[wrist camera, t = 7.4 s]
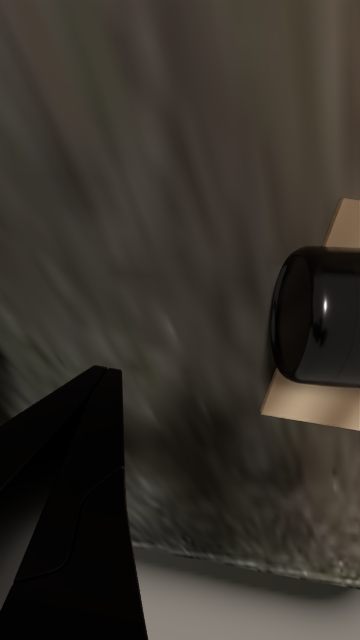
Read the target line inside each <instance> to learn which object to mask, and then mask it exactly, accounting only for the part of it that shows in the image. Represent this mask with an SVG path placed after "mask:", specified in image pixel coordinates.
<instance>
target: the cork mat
mask: <svg viewBox="0 0 360 640" xmlns="http://www.w3.org/2000/svg"><path fill="white" fill-rule="evenodd" d="M322 246H326V247H351V248H360V200H353V199H346V198H340V200H339V203H338V205H337V208H336V211H335V213H334V216H333V219H332V221H331V224H330V227H329V229H328V232H327V235H326V237H325V240H324V243H323V245H322ZM260 411H261V414H263V415H269V416H275V417H281V418H287V419H293V420H299V421H305V422H311V423H317V424H323V425H329V426H335V427H341V428H347V429H353V430H359V431H360V389H349V388H337V387H326V386H316V385H306V384H298V383H293V382H291V381H289V380H287V379H286V378H285V377H283V376H282V375H281V373H280V372H279V371H278V369H277V367H276V370H275V373H274V375H273V378H272V381H271V383H270V386H269V389H268V391H267V394H266V396H265V399H264V402H263V404H262V407H261V410H260Z"/></svg>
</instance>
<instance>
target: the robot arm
mask: <svg viewBox="0 0 360 640" xmlns="http://www.w3.org/2000/svg"><path fill="white" fill-rule="evenodd" d="M0 640H148V636H147V630H146V625H145V619H144V613H143V607H142V601H141V595H140V589H139V583H138V577H137V572H136V565H135V559H134V553H133V547H132V541H131V535H130V527H129V520H128V512H127V501H126V486H125V458H124V424H123V389H122V371H121V370H119V369H114V368H109V369H108V368H107V367H103V366H97V365H95V366H92V367H91V368H89V369H87V370H86V371H84V372H83V373H81V374H80V375H78V376H77V377H75V378H74V379H72V380H70V381H69V382H67V383H66V384H64V385H63V386H61V387H60V388H58V389H57V390H55V391H53V392H52V393H50V394H49V395H47V396H46V397H44V398H43V399H41V400H40V401H38V402H36V403H35V404H33V405H32V406H30V407H29V408H27V409H26V410H24V411H23V412H21V413H19V414H18V415H16V416H15V417H13V418H12V419H10V420H9V421H7V422H6V423H4V424H2V425H1V426H0Z"/></svg>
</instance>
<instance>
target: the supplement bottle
mask: <svg viewBox="0 0 360 640" xmlns="http://www.w3.org/2000/svg"><path fill="white" fill-rule="evenodd" d="M271 345H272V352H273V357H274V361H275V364H276V367H277V369H278V371H279V372H280V373H281V375H282V376H283V377H285V378H286V379H287V380H289V381H291V382H293V383H298V384H306V385H316V386H326V387H337V388H349V389H360V248H351V247H326V246H306V247H302V248H299V249H297V250H296V251H294V252H293V253H292V254H290V255H289V256H288V258H287V259H286V261H285V262H284V264H283V266H282V268H281V271H280V273H279V276H278V279H277V283H276V287H275V291H274V296H273V303H272V311H271Z"/></svg>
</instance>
